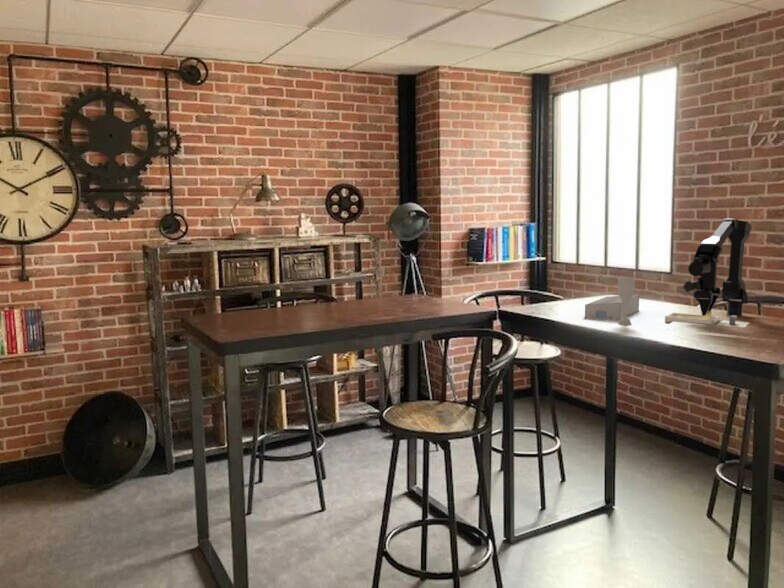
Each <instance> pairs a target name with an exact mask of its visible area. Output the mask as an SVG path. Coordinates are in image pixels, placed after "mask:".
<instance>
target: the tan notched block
mask: <svg viewBox="0 0 784 588" xmlns="http://www.w3.org/2000/svg"><path fill="white" fill-rule="evenodd" d="M711 316H712V310H708V311H707V313H706V315H705V316H703V318H701V317H689V316H677V317H684V318H696V319H707V320H711Z"/></svg>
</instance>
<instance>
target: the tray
mask: <svg viewBox="0 0 784 588" xmlns="http://www.w3.org/2000/svg"><path fill="white" fill-rule="evenodd" d="M677 316H689V317H701V318H703V315H702V314H695V313H683V312H670V313H669V314H667V315H665V316H664V323H666V322H668V323H667V324H669V323H670V324H671V323H673V322H683V323H697V324H706V325H715V324H716V323H717V322H720V316H717V315H711V320H707V319H696V318H684V317H677Z"/></svg>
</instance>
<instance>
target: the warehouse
mask: <svg viewBox="0 0 784 588" xmlns="http://www.w3.org/2000/svg"><path fill="white" fill-rule="evenodd" d="M639 307H640V294H633V296H632V298H631V299H630V301H629V302H627V314H626V315H627V317H629V316H631V315H633V314H635V313H637V312H638V311H640V309H639ZM623 311H624V302H623V301H622V300H621V298H620V296H619V295H614V296H613V295H612V296H611V295H610V296H605V297H602V298H599V299H597V300H595V301H592V302H589V303H586V304H585V305H584V318H588V319H589V318H590V319H599V320H612V321H620V319H621V318H623V317H624V312H623Z"/></svg>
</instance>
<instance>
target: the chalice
mask: <svg viewBox="0 0 784 588" xmlns="http://www.w3.org/2000/svg"><path fill="white" fill-rule="evenodd" d="M616 279H617V282H618V283H617V292H618V296H620V298H621V300H622V301H623V302H624V311H623V312H624V317H623V318H621V319H620V320H618V322H617V323H618V325H621V326H631V325H632V322H631V319H630V318H629V317H628V316H627V315H626V314H627V302H629V301H630V299H631V298H632V296H633V295H634V293H635V287H636V286H635V285H636V283H635V282H636V280H637V278H635V277H617V278H616Z"/></svg>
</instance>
